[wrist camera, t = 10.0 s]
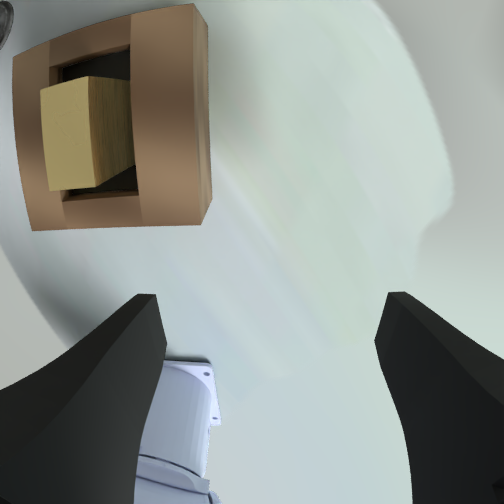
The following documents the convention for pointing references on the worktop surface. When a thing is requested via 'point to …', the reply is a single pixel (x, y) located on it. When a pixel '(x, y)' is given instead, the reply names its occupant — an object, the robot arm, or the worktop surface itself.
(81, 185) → the block
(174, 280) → the worktop surface
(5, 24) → the salt shaker
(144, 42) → the walnut box
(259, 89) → the worktop surface
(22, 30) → the worktop surface
